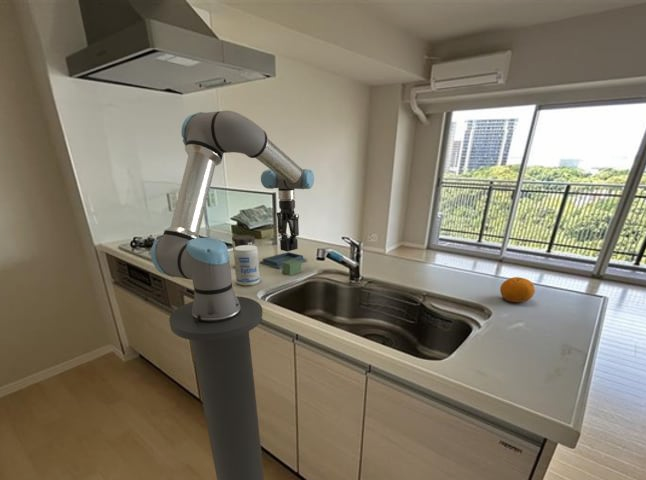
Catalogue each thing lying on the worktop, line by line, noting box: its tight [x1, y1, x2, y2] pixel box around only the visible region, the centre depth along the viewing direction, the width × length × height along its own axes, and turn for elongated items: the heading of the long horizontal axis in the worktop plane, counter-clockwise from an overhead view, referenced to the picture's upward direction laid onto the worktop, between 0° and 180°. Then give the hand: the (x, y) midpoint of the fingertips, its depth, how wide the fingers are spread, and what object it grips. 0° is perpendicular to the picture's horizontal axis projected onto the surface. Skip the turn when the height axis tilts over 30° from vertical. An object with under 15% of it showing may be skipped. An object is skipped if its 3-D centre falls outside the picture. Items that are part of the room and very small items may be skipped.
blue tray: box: [259, 251, 307, 270], centre depth 167 cm, size 18×14×2 cm
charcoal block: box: [279, 237, 299, 253], centre depth 166 cm, size 7×5×5 cm
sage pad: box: [281, 259, 302, 276], centre depth 151 cm, size 7×5×5 cm
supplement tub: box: [233, 245, 261, 287], centre depth 137 cm, size 10×10×15 cm
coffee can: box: [231, 234, 256, 261], centre depth 158 cm, size 10×10×14 cm
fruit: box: [499, 276, 536, 303], centre depth 118 cm, size 10×10×8 cm
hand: (288, 248), depth 167 cm, fingers closed on charcoal block, 5 cm apart
